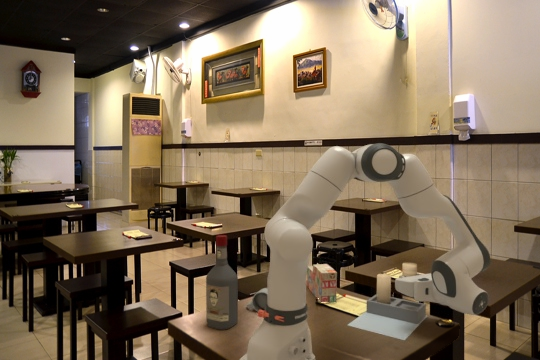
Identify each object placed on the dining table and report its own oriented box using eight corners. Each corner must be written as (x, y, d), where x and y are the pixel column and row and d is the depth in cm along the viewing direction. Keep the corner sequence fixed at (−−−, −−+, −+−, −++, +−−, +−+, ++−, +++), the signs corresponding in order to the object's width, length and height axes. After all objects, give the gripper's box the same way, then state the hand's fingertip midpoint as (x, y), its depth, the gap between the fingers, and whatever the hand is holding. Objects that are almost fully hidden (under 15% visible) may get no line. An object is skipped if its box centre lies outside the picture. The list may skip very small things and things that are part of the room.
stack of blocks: (306, 286, 181) (306, 259, 180) (320, 286, 182) (320, 258, 181) (321, 304, 160) (321, 272, 159) (336, 303, 161) (337, 271, 160)
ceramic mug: (277, 306, 157) (276, 286, 157) (272, 313, 150) (271, 292, 149) (250, 304, 160) (249, 284, 160) (243, 311, 152) (243, 291, 152)
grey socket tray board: (404, 343, 126) (405, 298, 125) (347, 328, 137) (347, 286, 136) (427, 318, 145) (428, 279, 144) (375, 307, 156) (376, 270, 156)
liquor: (218, 316, 147) (218, 232, 145) (240, 321, 142) (240, 235, 141) (202, 326, 139) (202, 237, 137) (225, 331, 134) (225, 239, 133)
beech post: (414, 296, 140) (414, 266, 140) (400, 293, 143) (400, 264, 142) (418, 292, 144) (418, 263, 143) (404, 289, 147) (405, 261, 146)
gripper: (462, 274, 135) (430, 264, 148) (413, 282, 127) (384, 270, 140) (462, 293, 136) (430, 281, 148) (413, 302, 128) (384, 289, 140)
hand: (407, 276), depth 144 cm, fingers closed on beech post, 5 cm apart
